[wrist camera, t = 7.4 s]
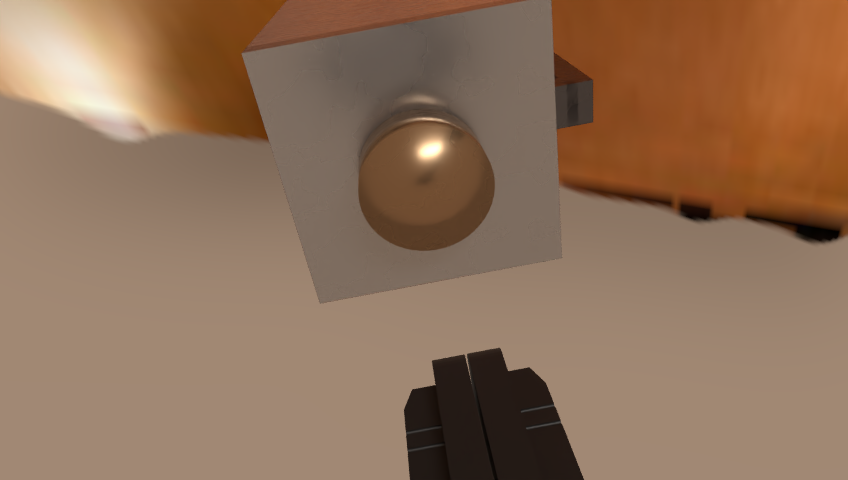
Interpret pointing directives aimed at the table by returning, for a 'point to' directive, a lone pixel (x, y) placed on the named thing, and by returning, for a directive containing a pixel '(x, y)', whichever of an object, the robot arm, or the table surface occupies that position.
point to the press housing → (404, 90)
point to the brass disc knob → (424, 180)
